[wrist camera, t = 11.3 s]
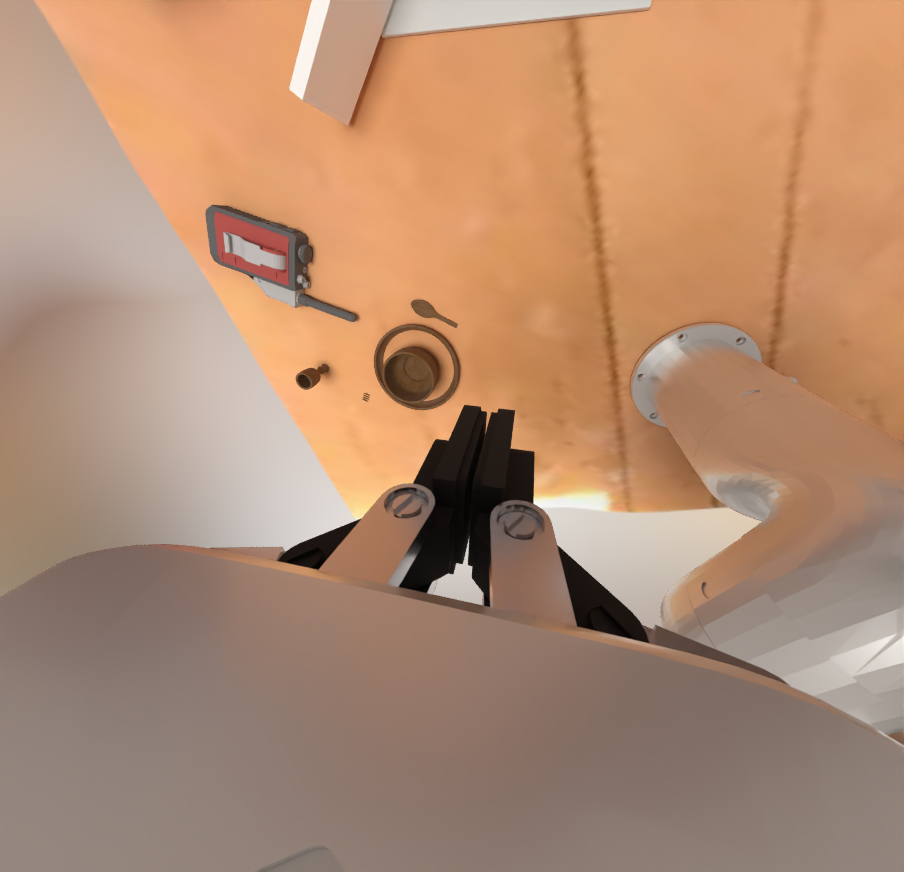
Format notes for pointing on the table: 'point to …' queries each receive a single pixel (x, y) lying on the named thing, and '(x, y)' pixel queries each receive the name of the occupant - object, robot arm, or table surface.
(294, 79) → the side door
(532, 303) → the table surface
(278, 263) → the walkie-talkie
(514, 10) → the camera box
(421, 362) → the place setting
